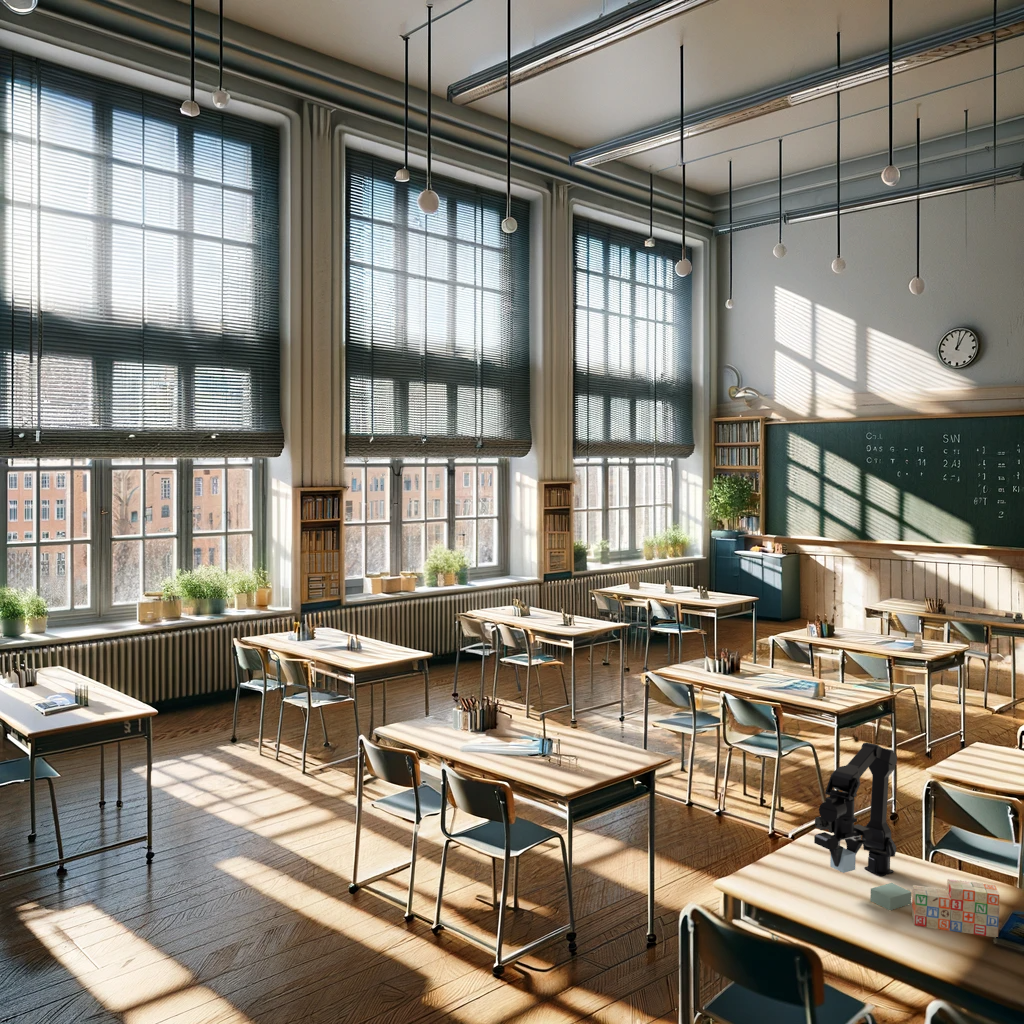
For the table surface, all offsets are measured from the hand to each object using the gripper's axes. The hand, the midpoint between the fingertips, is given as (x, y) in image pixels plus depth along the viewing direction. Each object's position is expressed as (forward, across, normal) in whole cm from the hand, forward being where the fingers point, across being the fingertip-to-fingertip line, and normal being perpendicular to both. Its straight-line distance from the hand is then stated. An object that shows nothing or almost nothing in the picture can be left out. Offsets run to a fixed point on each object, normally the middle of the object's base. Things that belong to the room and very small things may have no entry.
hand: (842, 864), depth 279 cm
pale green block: (+10, -9, +10) cm, 17 cm away
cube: (+1, 0, 0) cm, 1 cm away
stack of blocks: (+10, -13, +28) cm, 33 cm away
